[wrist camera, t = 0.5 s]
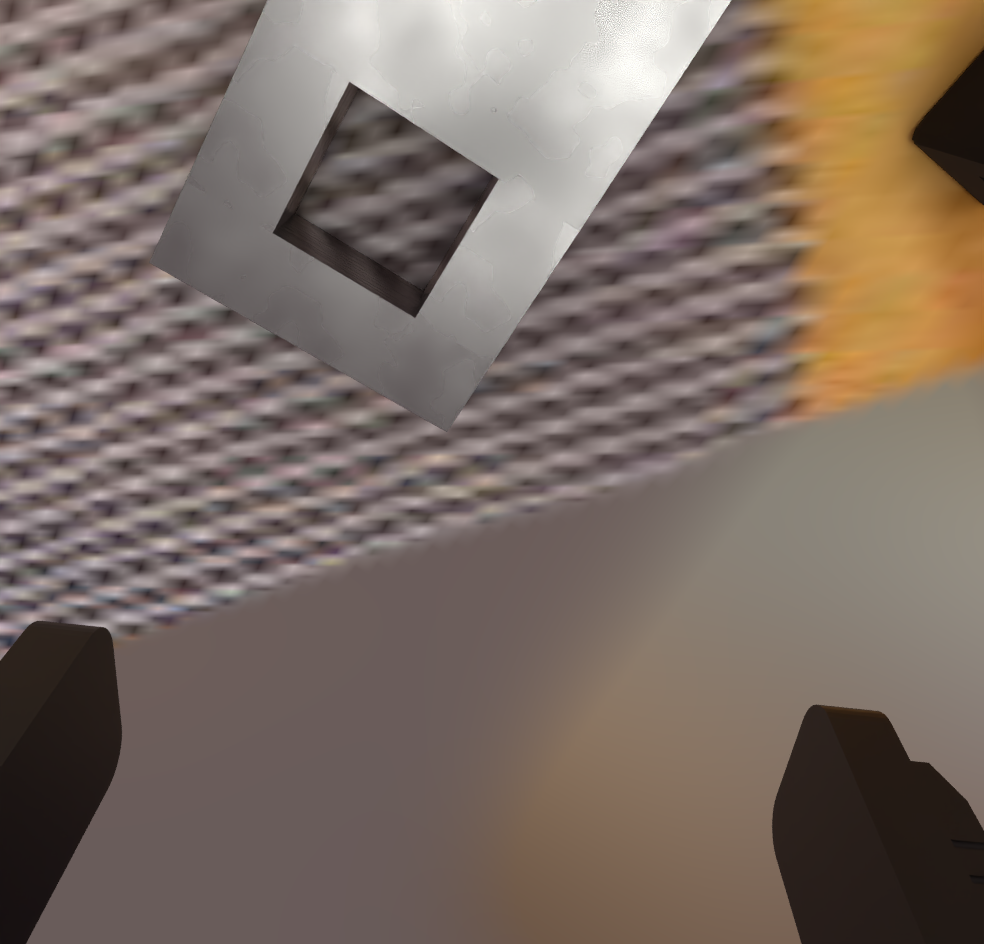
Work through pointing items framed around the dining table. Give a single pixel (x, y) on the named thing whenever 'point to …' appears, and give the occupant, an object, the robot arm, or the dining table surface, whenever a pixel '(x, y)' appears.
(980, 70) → the electronic device
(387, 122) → the dining table surface
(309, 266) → the grey peg hole base
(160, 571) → the dining table surface
